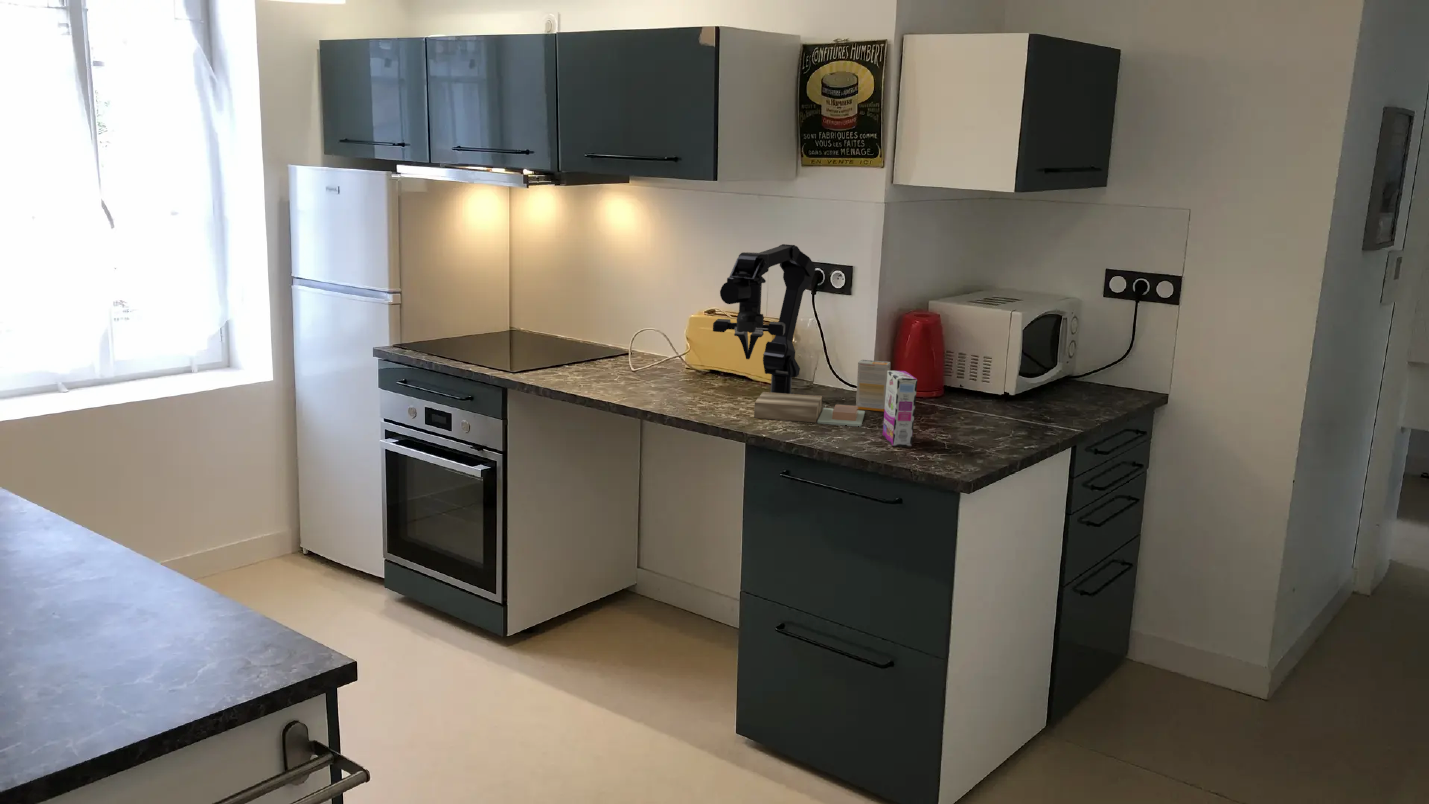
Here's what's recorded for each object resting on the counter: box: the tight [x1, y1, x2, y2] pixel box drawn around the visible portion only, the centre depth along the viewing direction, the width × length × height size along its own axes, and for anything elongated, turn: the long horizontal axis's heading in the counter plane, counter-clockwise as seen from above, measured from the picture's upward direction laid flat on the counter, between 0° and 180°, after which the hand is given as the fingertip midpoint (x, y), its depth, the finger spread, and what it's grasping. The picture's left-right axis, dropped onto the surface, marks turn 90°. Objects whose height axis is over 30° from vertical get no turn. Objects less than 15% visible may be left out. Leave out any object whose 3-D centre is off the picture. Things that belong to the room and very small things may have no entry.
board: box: [753, 391, 823, 423], centre depth 292 cm, size 14×16×4 cm
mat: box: [817, 407, 866, 428], centre depth 290 cm, size 16×11×1 cm
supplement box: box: [855, 359, 891, 413], centre depth 300 cm, size 8×5×13 cm, turn 71°
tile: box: [832, 404, 859, 421], centre depth 289 cm, size 9×6×2 cm, turn 169°
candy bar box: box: [882, 370, 918, 447], centre depth 266 cm, size 11×5×16 cm, turn 5°
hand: (747, 359), depth 297 cm, fingers closed
